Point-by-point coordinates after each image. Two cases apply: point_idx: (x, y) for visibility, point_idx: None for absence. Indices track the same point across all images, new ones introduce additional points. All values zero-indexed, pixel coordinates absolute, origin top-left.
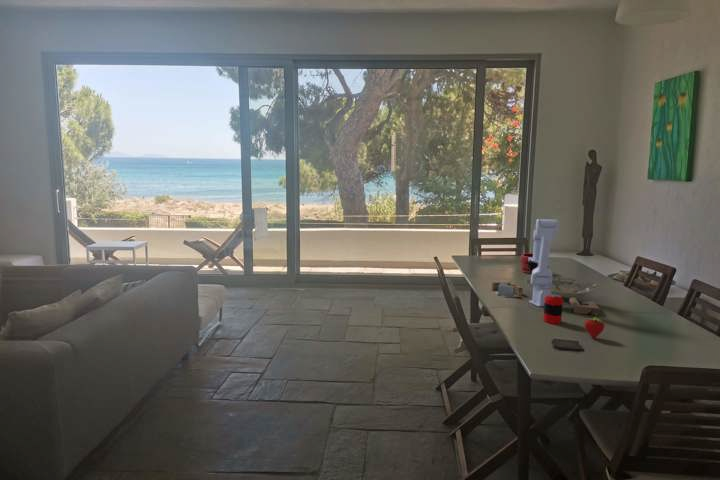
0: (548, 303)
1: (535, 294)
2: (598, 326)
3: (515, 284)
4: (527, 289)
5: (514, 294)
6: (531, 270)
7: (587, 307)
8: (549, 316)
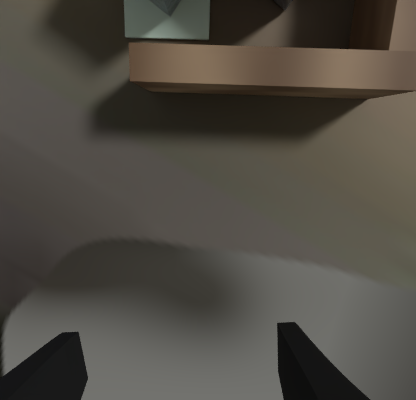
0: None
1: None
2: None
3: (292, 81)
4: (341, 259)
5: (191, 35)
6: (300, 383)
7: None
8: None
